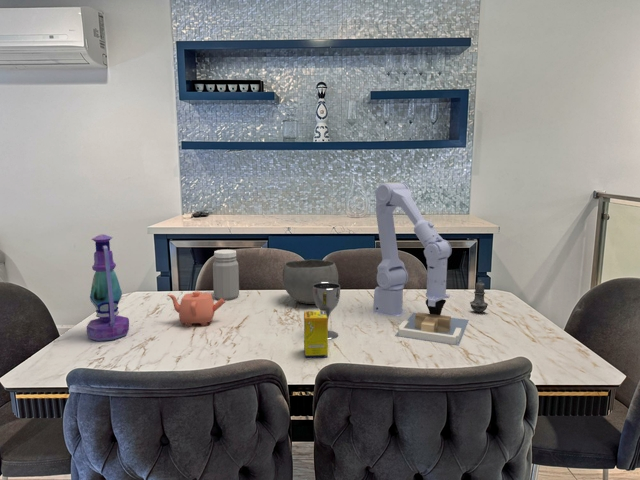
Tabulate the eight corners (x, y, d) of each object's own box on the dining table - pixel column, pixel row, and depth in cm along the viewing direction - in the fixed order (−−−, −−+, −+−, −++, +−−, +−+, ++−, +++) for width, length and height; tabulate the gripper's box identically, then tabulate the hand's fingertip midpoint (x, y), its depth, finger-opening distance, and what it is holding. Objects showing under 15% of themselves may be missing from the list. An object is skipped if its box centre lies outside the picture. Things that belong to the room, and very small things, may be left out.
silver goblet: (343, 331, 136) (343, 283, 133) (335, 341, 128) (335, 290, 126) (318, 328, 138) (318, 281, 136) (309, 337, 131) (308, 287, 128)
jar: (236, 301, 168) (235, 253, 165) (210, 300, 168) (208, 253, 165) (241, 294, 178) (240, 249, 175) (216, 293, 178) (215, 248, 175)
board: (394, 337, 131) (394, 335, 131) (413, 314, 152) (413, 312, 152) (458, 347, 123) (458, 345, 123) (468, 321, 145) (468, 319, 145)
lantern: (82, 333, 134) (74, 233, 130) (123, 325, 141) (117, 230, 137) (92, 346, 124) (83, 238, 119) (136, 337, 131) (129, 235, 126)
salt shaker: (488, 317, 150) (490, 281, 148) (470, 315, 151) (472, 281, 149) (486, 311, 156) (488, 277, 154) (468, 310, 157) (470, 277, 155)
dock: (396, 335, 131) (396, 328, 131) (403, 326, 139) (404, 320, 138) (457, 344, 124) (457, 337, 124) (461, 334, 132) (461, 328, 131)
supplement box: (303, 349, 122) (303, 310, 120) (325, 349, 123) (325, 310, 121) (304, 358, 116) (304, 317, 114) (327, 358, 117) (328, 317, 115)
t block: (417, 324, 140) (417, 312, 140) (450, 329, 136) (450, 316, 136) (409, 335, 131) (409, 322, 130) (444, 340, 127) (445, 327, 126)
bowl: (348, 299, 170) (348, 260, 168) (319, 313, 153) (319, 270, 151) (303, 291, 181) (303, 255, 179) (271, 304, 164) (271, 263, 162)
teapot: (208, 313, 153) (206, 284, 152) (227, 321, 145) (226, 291, 143) (168, 323, 143) (166, 292, 142) (186, 332, 135) (184, 300, 133)
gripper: (446, 286, 129) (444, 332, 131) (453, 276, 142) (451, 317, 144) (421, 284, 132) (420, 328, 134) (431, 274, 145) (429, 314, 147)
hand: (434, 322), depth 139 cm, fingers closed
